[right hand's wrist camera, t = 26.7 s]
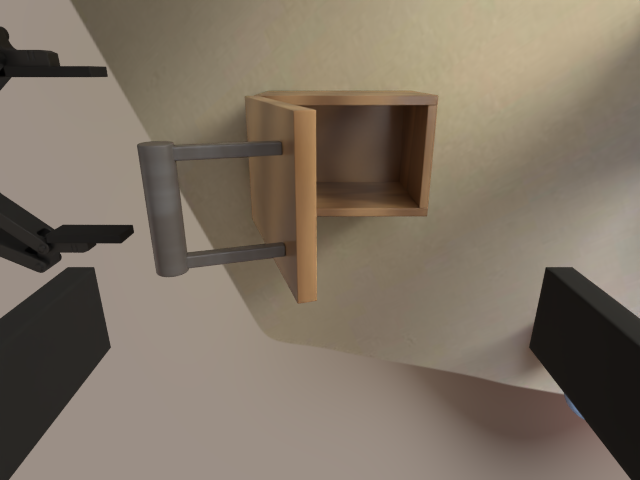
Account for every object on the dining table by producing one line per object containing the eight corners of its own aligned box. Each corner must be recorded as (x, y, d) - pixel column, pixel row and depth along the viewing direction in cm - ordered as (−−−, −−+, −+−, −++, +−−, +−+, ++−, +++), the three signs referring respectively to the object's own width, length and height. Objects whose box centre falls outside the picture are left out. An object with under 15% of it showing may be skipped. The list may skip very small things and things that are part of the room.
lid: (316, 109, 20) (125, 114, 17) (317, 300, 23) (158, 325, 21) (258, 95, 33) (147, 97, 31) (264, 218, 37) (165, 227, 35)
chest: (411, 90, 44) (438, 95, 34) (404, 186, 47) (427, 216, 37) (268, 90, 44) (253, 95, 34) (272, 186, 47) (259, 216, 37)
